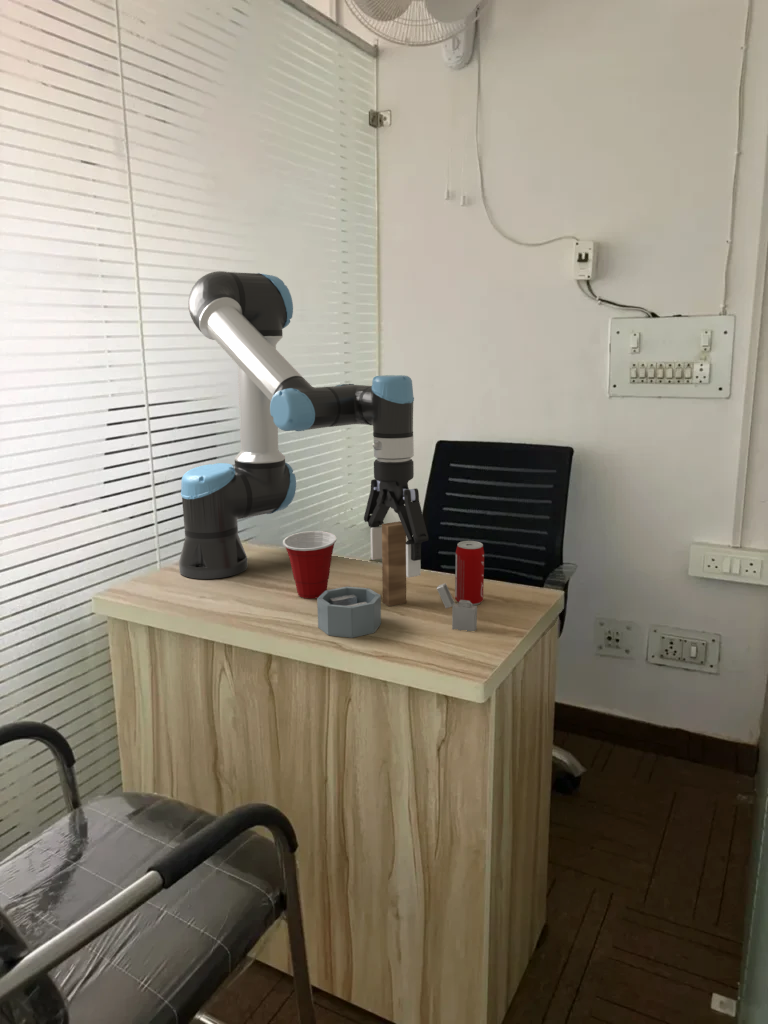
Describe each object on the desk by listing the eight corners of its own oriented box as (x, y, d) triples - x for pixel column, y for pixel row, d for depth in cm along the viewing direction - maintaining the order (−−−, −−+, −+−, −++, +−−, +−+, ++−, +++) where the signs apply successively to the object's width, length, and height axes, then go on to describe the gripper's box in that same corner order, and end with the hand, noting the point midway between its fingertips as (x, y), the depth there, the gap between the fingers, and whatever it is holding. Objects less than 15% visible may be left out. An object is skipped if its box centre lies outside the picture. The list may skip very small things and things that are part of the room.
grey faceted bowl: (310, 621, 137) (309, 593, 135) (361, 611, 142) (361, 583, 140) (336, 641, 128) (335, 611, 126) (389, 629, 133) (389, 600, 131)
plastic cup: (274, 598, 149) (271, 541, 146) (304, 582, 158) (302, 528, 156) (319, 607, 144) (317, 547, 141) (347, 590, 153) (346, 534, 151)
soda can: (486, 605, 144) (487, 546, 141) (458, 607, 143) (459, 547, 141) (479, 596, 149) (480, 538, 147) (452, 597, 149) (453, 539, 146)
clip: (330, 619, 136) (329, 598, 135) (353, 614, 138) (352, 594, 137) (345, 630, 131) (345, 609, 130) (369, 625, 133) (369, 604, 132)
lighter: (476, 628, 133) (477, 586, 131) (474, 632, 131) (475, 589, 129) (439, 623, 135) (439, 581, 133) (436, 627, 134) (436, 584, 132)
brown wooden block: (382, 602, 146) (381, 524, 142) (400, 599, 148) (399, 521, 144) (388, 606, 144) (388, 526, 140) (406, 602, 146) (406, 523, 142)
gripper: (345, 452, 148) (348, 554, 153) (411, 469, 127) (412, 587, 132) (378, 449, 152) (380, 549, 157) (447, 465, 131) (447, 580, 135)
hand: (394, 567), depth 144 cm, fingers open, 13 cm apart
